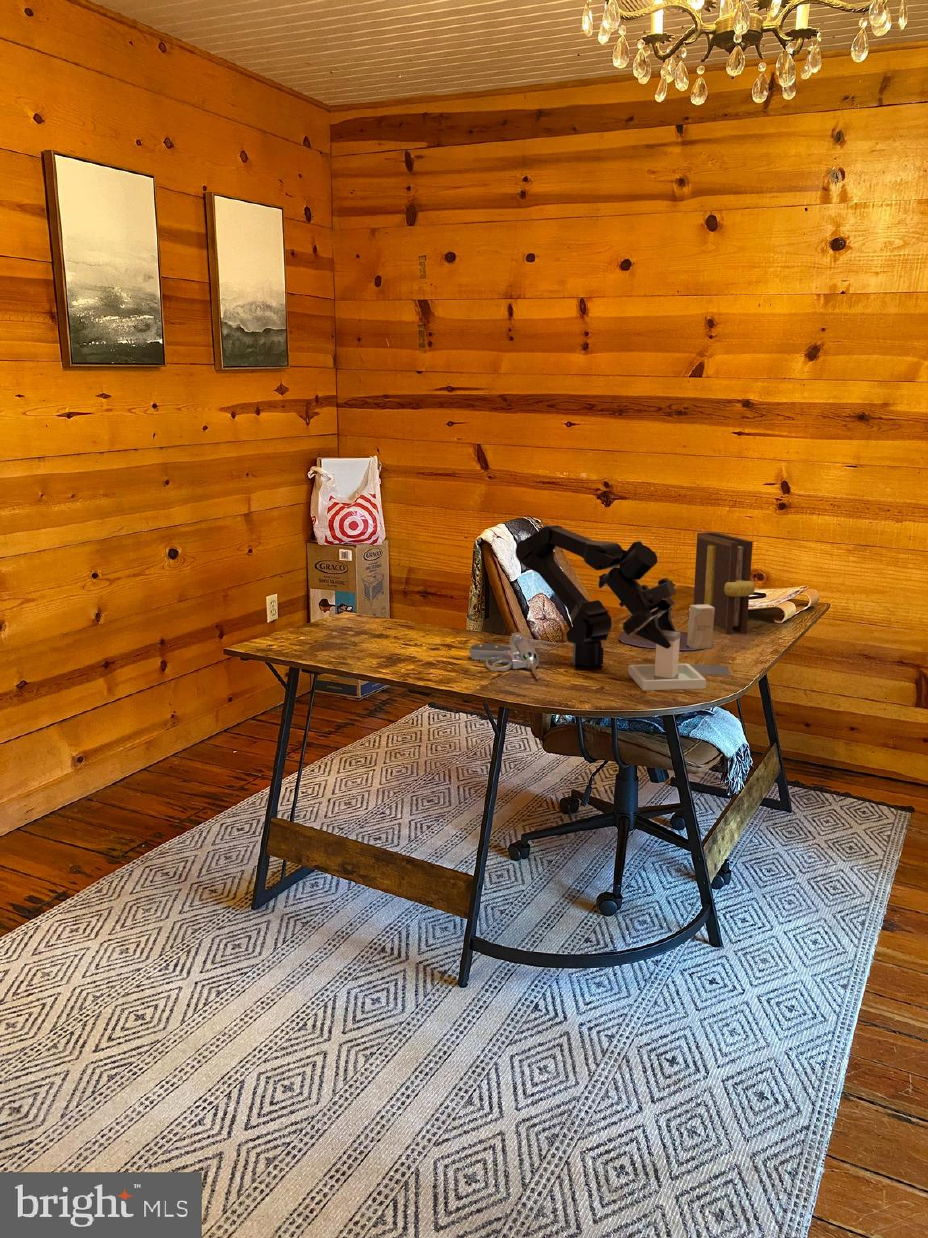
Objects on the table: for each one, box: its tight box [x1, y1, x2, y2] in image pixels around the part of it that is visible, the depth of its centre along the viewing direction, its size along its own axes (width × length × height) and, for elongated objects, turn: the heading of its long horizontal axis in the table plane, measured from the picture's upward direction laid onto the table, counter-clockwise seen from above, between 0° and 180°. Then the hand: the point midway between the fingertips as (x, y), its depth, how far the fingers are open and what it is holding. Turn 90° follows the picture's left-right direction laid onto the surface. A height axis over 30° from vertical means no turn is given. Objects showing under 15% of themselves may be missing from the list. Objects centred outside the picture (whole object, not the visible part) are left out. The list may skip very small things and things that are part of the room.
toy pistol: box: [469, 632, 540, 680], centre depth 230 cm, size 6×28×16 cm
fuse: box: [654, 630, 682, 680], centre depth 214 cm, size 4×4×11 cm
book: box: [692, 532, 756, 636], centre depth 265 cm, size 22×8×25 cm, turn 17°
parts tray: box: [627, 663, 707, 691], centre depth 216 cm, size 14×13×2 cm
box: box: [686, 604, 715, 650], centre depth 244 cm, size 5×4×11 cm
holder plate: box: [688, 663, 731, 677], centre depth 224 cm, size 10×8×1 cm
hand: (673, 644), depth 213 cm, fingers open, 6 cm apart
